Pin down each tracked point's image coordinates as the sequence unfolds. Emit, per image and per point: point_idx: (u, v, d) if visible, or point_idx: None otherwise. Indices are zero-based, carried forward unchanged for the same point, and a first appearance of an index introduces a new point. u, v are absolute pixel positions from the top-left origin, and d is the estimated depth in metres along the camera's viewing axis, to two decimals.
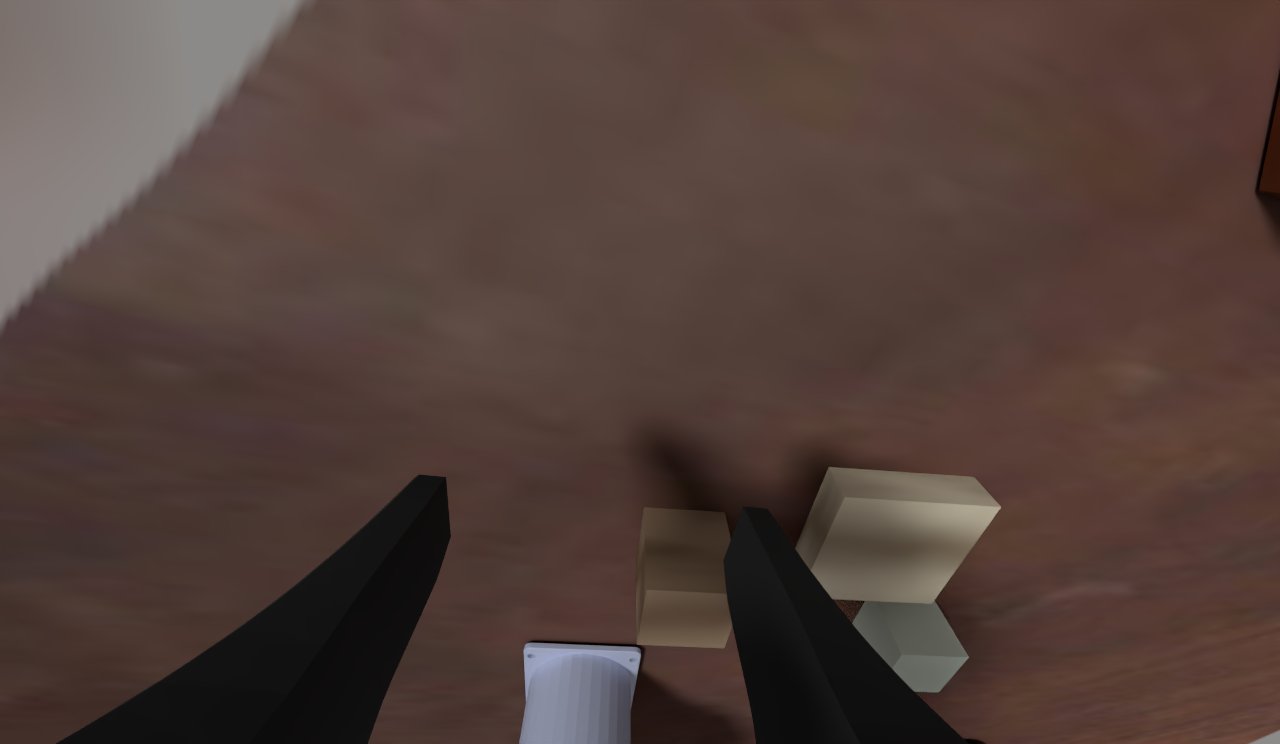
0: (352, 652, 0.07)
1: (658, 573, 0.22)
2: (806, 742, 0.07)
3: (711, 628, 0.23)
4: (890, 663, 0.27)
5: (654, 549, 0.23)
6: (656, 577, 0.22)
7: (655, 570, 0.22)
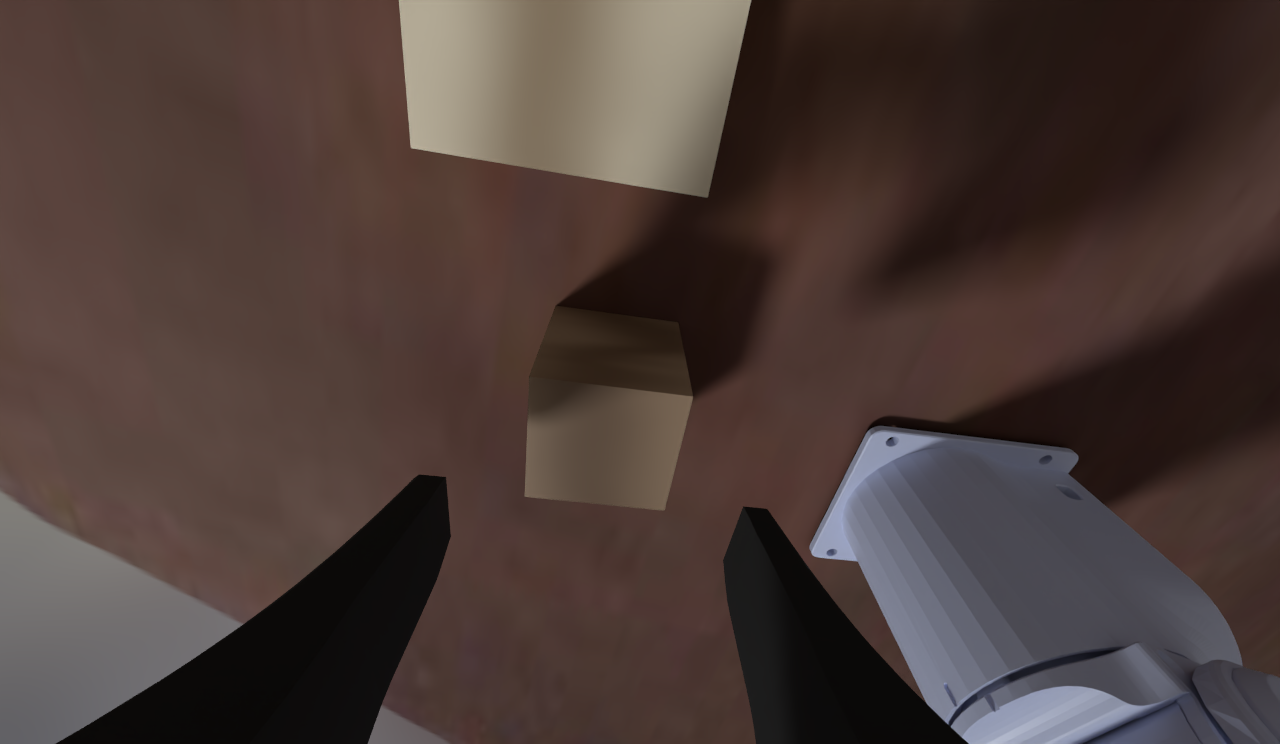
0: (352, 652, 0.07)
1: None
2: (806, 742, 0.07)
3: (628, 418, 0.13)
4: None
5: None
6: None
7: None
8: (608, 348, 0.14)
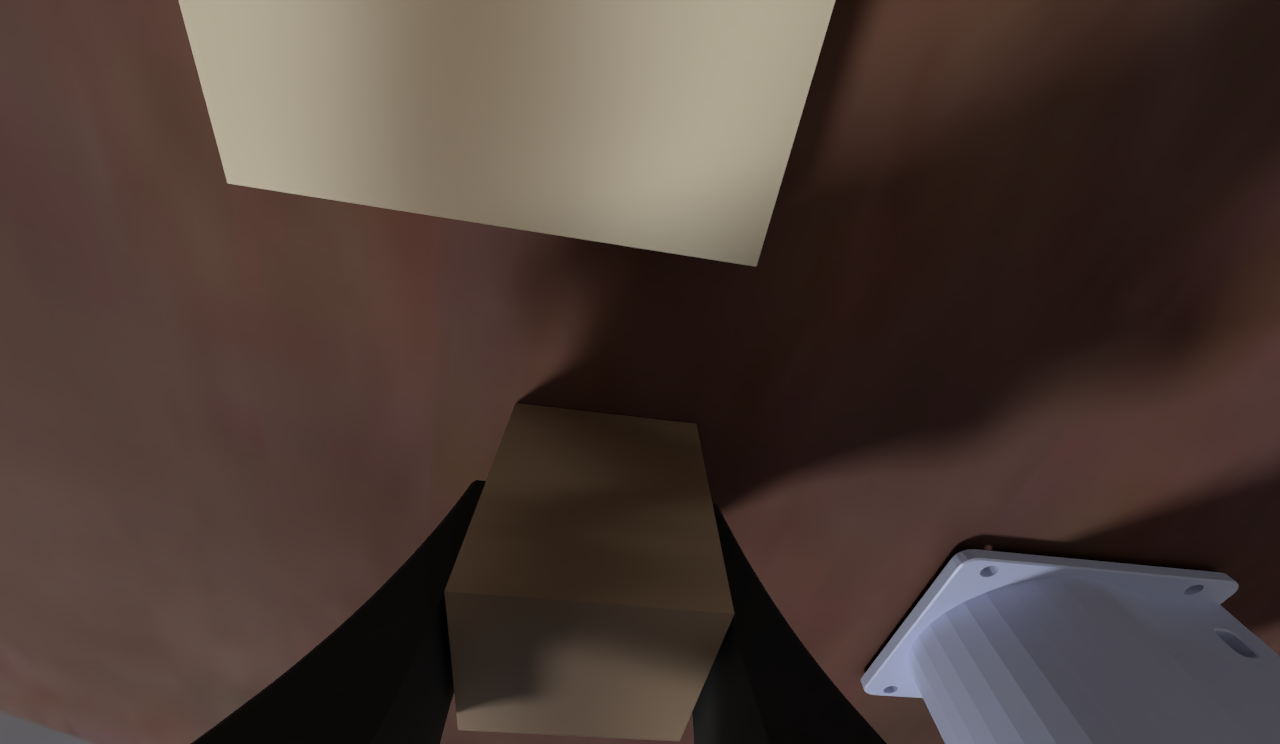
0: (434, 657, 0.07)
1: None
2: (729, 738, 0.07)
3: (621, 641, 0.08)
4: None
5: None
6: None
7: None
8: (590, 497, 0.09)
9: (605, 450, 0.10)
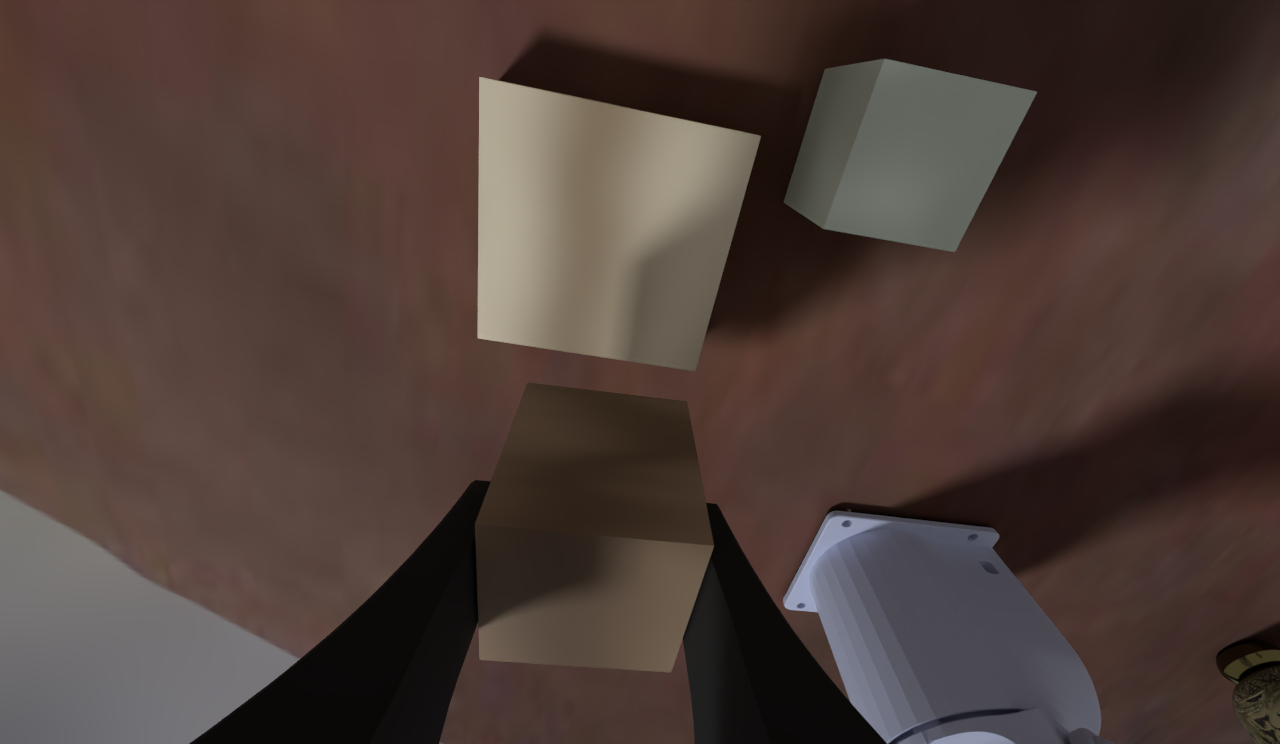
0: (433, 657, 0.07)
1: None
2: (730, 738, 0.07)
3: (620, 572, 0.09)
4: (866, 235, 0.13)
5: None
6: None
7: None
8: (593, 458, 0.11)
9: (606, 421, 0.12)
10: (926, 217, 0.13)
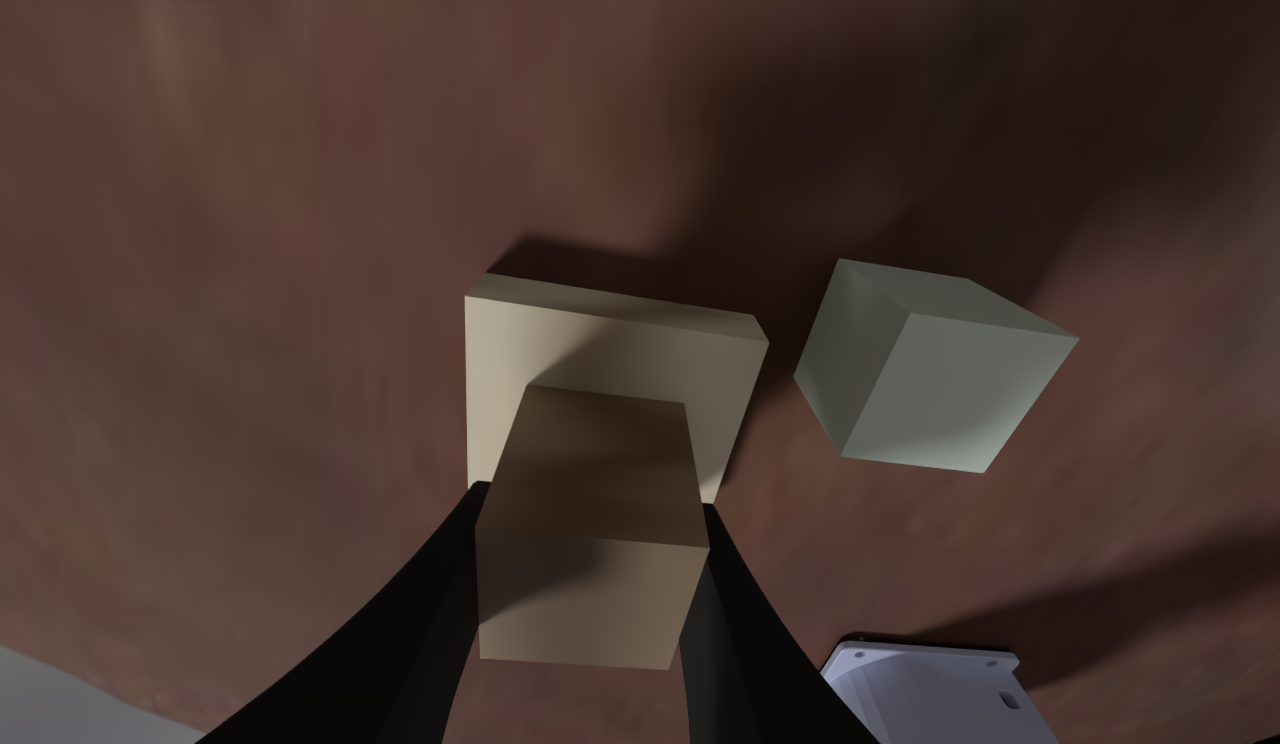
0: (436, 657, 0.07)
1: None
2: (724, 738, 0.07)
3: (617, 572, 0.09)
4: (886, 455, 0.12)
5: None
6: None
7: None
8: (591, 460, 0.11)
9: (604, 423, 0.12)
10: (953, 445, 0.12)
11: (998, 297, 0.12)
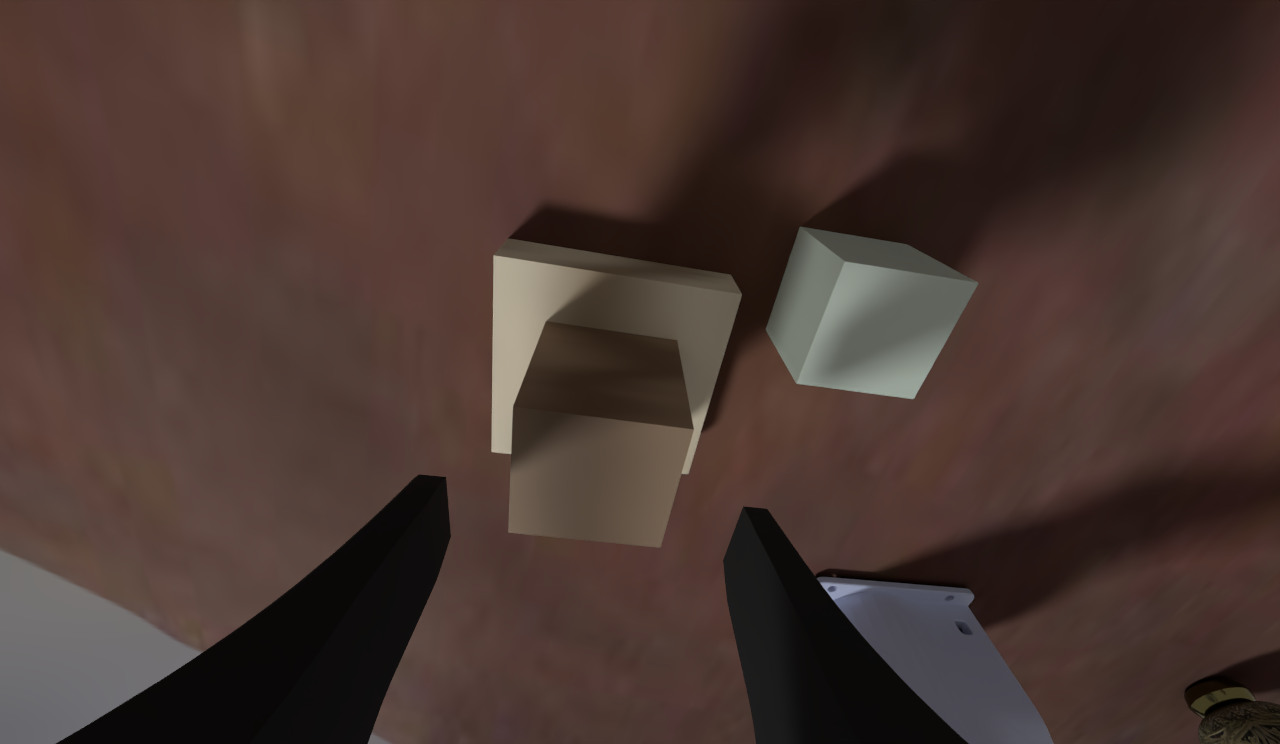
0: (352, 652, 0.07)
1: None
2: (806, 742, 0.07)
3: (622, 451, 0.12)
4: (835, 384, 0.15)
5: None
6: None
7: None
8: (601, 372, 0.13)
9: (611, 350, 0.15)
10: (887, 374, 0.15)
11: (926, 256, 0.15)
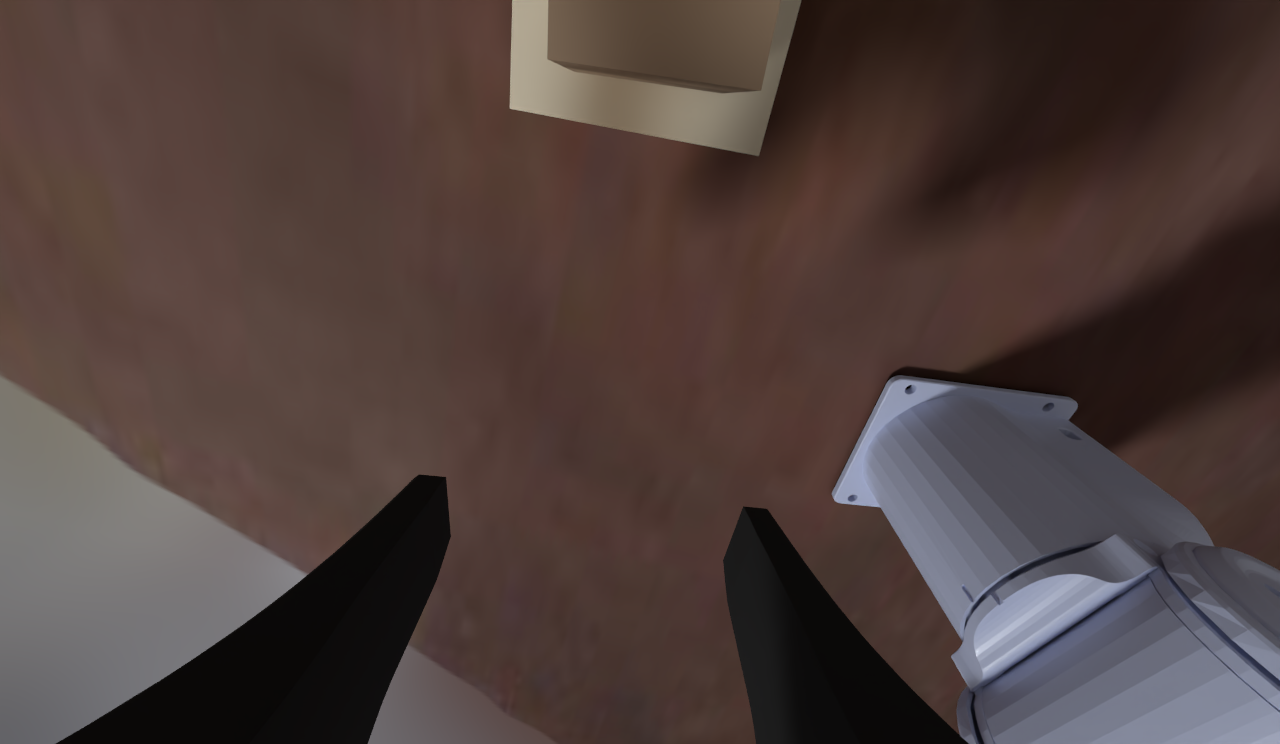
0: (352, 652, 0.07)
1: None
2: (806, 742, 0.07)
3: None
4: None
5: None
6: None
7: None
8: None
9: None
10: None
11: None
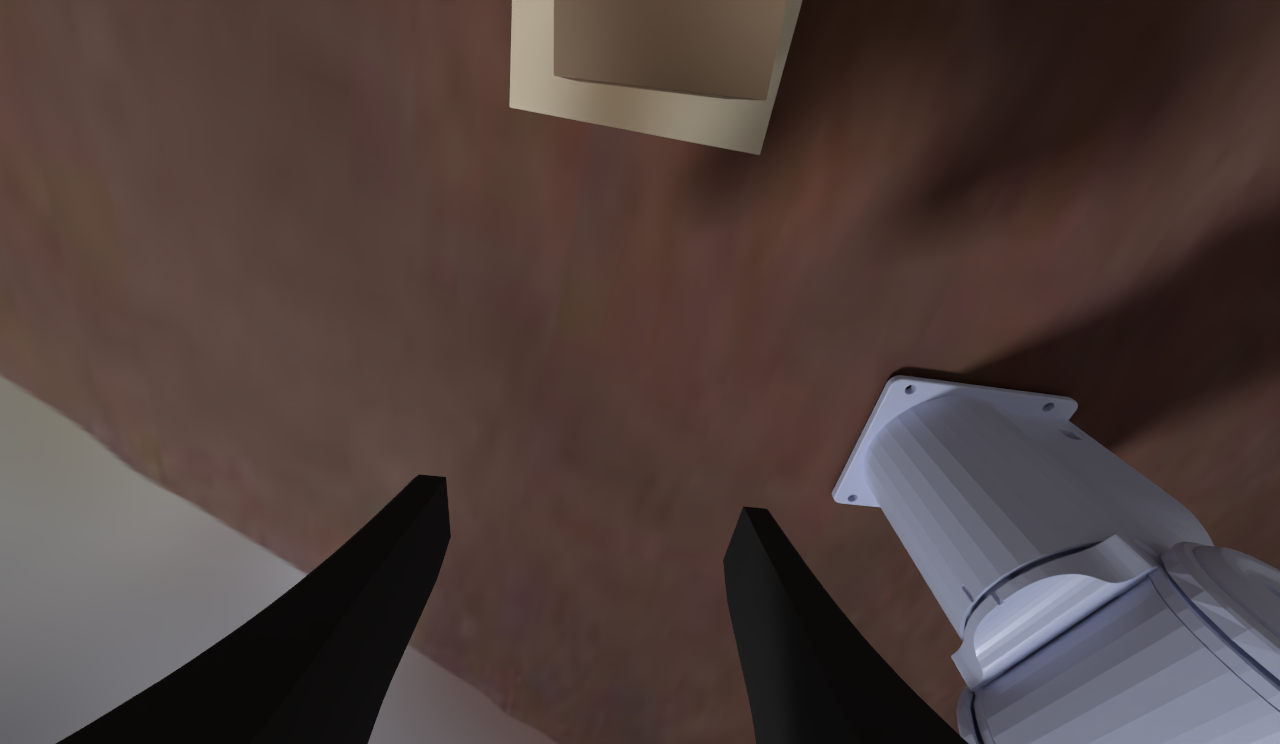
0: (352, 652, 0.07)
1: None
2: (806, 742, 0.07)
3: None
4: None
5: None
6: None
7: None
8: None
9: None
10: None
11: None
